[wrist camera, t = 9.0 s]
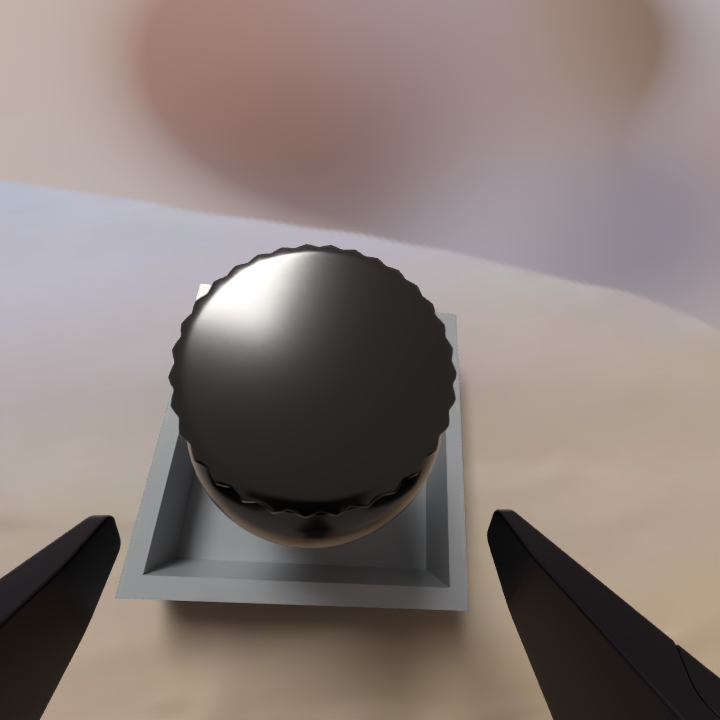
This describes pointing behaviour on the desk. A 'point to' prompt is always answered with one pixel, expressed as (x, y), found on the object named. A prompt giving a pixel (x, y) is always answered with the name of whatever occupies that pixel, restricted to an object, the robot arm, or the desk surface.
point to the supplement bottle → (312, 394)
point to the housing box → (298, 565)
